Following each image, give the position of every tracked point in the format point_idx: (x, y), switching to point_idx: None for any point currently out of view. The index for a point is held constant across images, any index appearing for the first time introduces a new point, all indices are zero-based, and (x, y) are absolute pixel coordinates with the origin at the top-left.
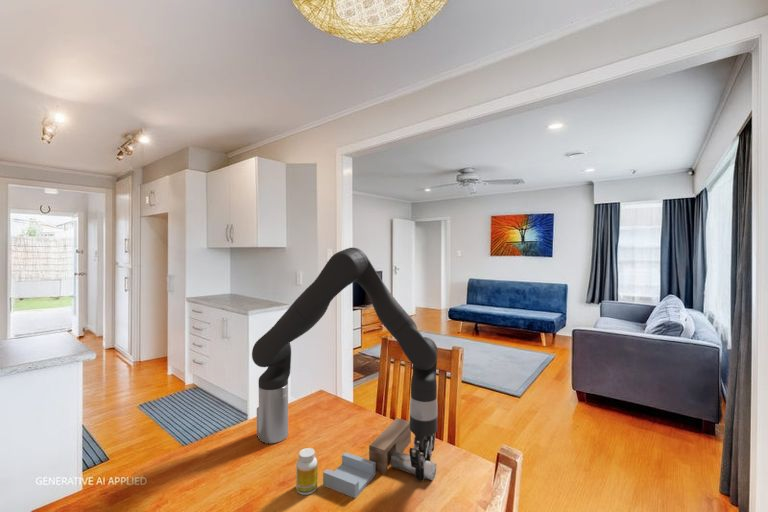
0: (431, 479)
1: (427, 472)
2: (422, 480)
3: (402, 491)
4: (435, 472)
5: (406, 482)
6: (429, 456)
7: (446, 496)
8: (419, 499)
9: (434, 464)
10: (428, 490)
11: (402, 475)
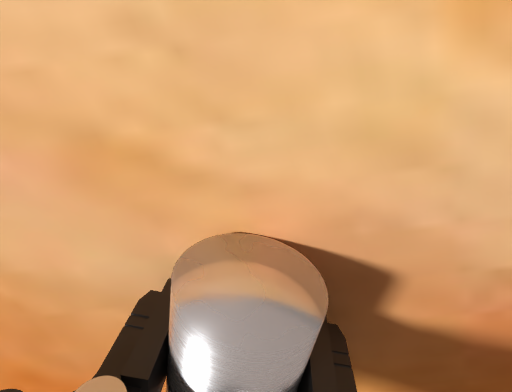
0: (308, 262)
1: (317, 336)
2: None
3: (427, 375)
4: (208, 245)
5: None
6: (110, 377)
7: (461, 105)
8: (504, 292)
9: (218, 324)
10: (397, 251)
11: None
